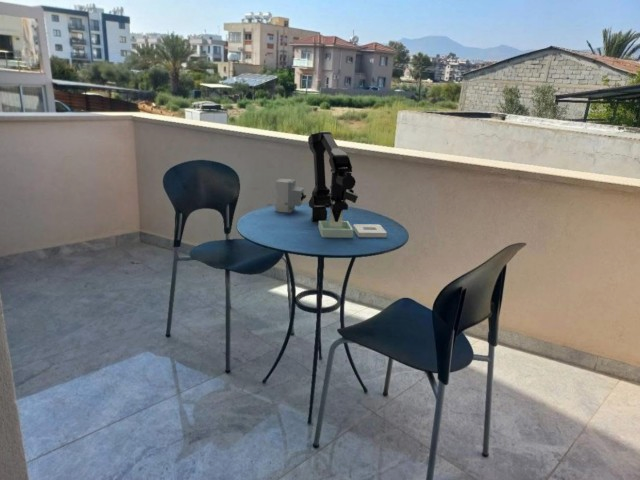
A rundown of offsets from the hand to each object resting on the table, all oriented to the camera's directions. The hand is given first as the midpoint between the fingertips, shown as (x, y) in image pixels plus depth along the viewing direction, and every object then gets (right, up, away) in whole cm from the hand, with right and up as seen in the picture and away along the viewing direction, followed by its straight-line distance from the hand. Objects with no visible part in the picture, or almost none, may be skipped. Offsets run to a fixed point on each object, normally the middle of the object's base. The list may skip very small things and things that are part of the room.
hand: (335, 220), depth 187 cm
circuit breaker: (-21, +6, +32) cm, 39 cm away
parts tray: (0, -5, +2) cm, 5 cm away
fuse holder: (+15, -5, +4) cm, 16 cm away
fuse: (0, -3, +1) cm, 3 cm away
